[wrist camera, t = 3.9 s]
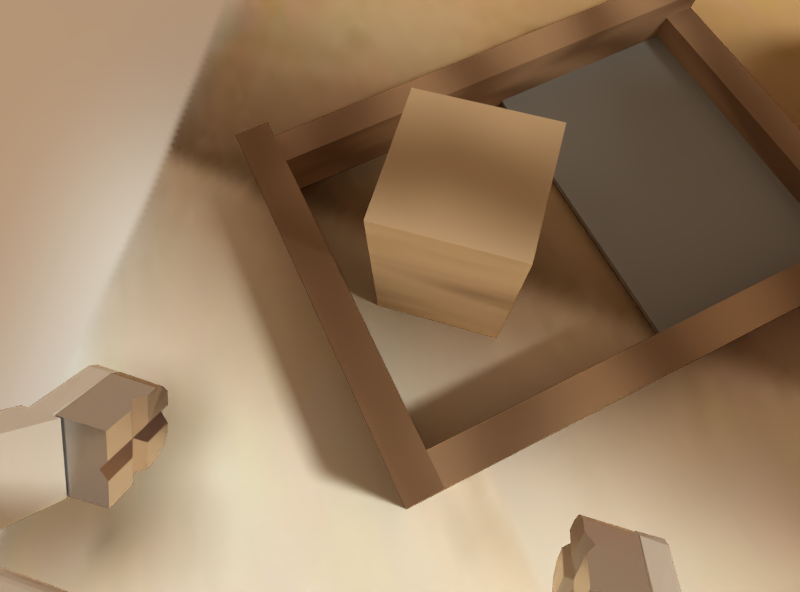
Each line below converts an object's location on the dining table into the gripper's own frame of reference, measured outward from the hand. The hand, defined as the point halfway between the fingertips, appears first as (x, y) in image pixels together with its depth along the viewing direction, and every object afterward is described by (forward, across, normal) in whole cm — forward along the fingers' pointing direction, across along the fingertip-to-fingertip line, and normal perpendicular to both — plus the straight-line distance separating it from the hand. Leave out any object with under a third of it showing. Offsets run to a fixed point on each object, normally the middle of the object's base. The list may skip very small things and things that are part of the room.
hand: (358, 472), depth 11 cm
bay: (+19, -4, -1) cm, 19 cm away
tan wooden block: (+16, 0, +2) cm, 16 cm away
